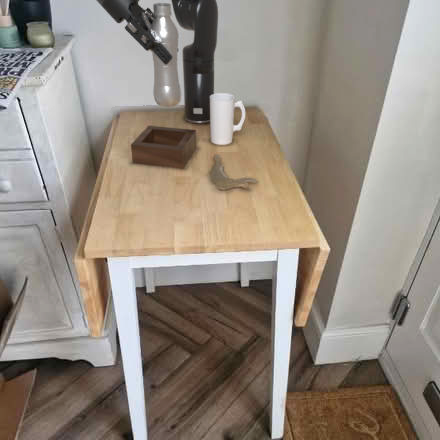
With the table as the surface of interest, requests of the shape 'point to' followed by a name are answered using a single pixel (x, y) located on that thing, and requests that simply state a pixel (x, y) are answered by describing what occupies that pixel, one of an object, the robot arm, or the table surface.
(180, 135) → the bottle holder
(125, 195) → the table surface
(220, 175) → the jawbone
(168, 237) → the table surface
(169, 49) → the silver metal bottle
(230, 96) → the mug
